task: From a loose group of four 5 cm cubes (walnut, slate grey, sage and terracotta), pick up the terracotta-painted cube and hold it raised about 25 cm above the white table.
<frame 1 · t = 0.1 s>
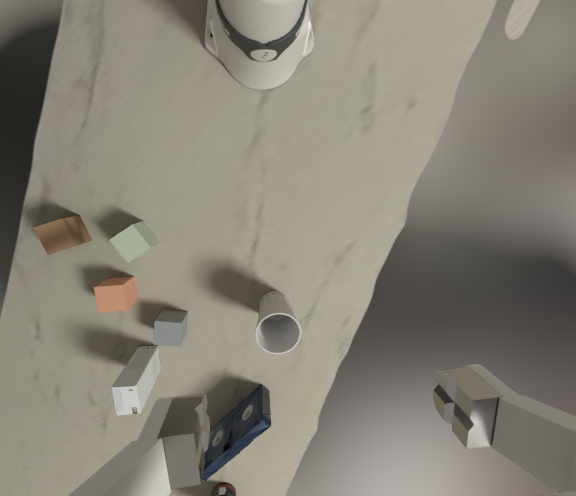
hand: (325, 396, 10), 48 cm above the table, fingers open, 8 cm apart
supplement bottle: (224, 490, 71), on the table
cup: (274, 304, 61), on the table
vhs cassette tape: (237, 410, 66), on the table
walnut cube: (73, 231, 53), on the table
terracotta cube: (123, 288, 56), on the table
sage cube: (141, 238, 55), on the table
slate cube: (174, 321, 59), on the table
skincare box: (151, 357, 61), on the table
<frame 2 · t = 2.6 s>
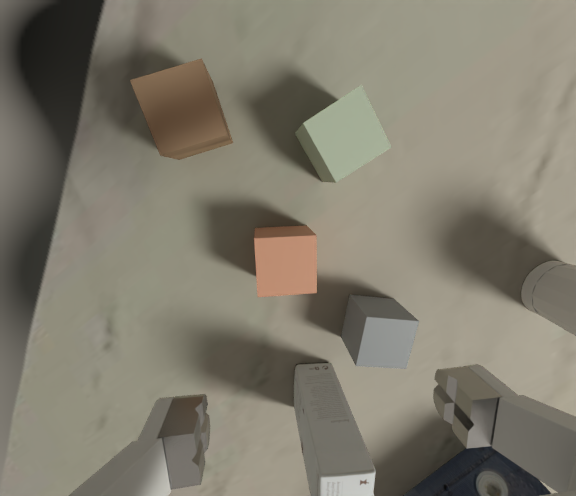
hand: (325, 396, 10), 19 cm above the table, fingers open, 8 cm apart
cup: (545, 286, 32), on the table
vhs cassette tape: (439, 473, 38), on the table
walnut cube: (195, 122, 24), on the table
terracotta cube: (281, 251, 28), on the table
sage cube: (331, 143, 26), on the table
slate cube: (366, 317, 31), on the table
skincare box: (313, 384, 32), on the table
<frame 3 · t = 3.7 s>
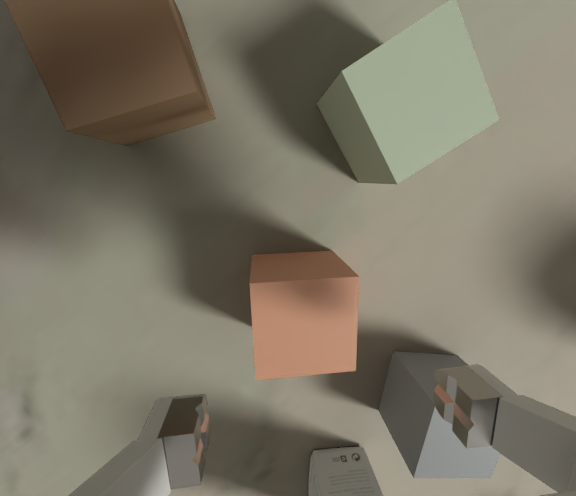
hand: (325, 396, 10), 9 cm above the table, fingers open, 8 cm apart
walnut cube: (153, 82, 15), on the table
terracotta cube: (293, 289, 18), on the table
sage cube: (374, 121, 16), on the table
slate cube: (416, 382, 21), on the table
skincare box: (336, 475, 22), on the table
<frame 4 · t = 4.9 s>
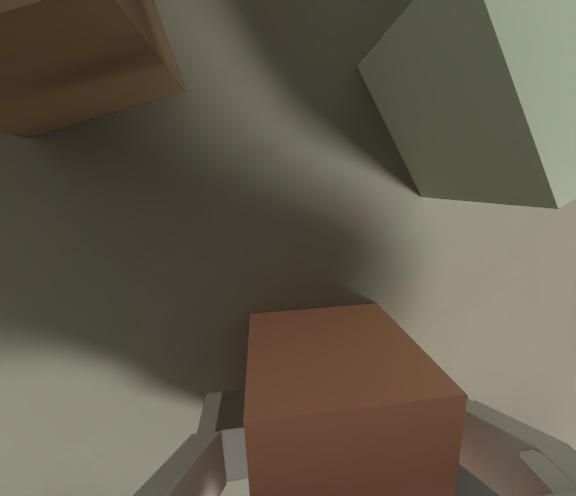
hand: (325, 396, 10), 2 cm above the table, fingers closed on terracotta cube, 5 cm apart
walnut cube: (71, 25, 8), on the table
terracotta cube: (315, 364, 12), on the table, touching gripper
sage cube: (451, 96, 10), on the table
slate cube: (492, 484, 14), on the table
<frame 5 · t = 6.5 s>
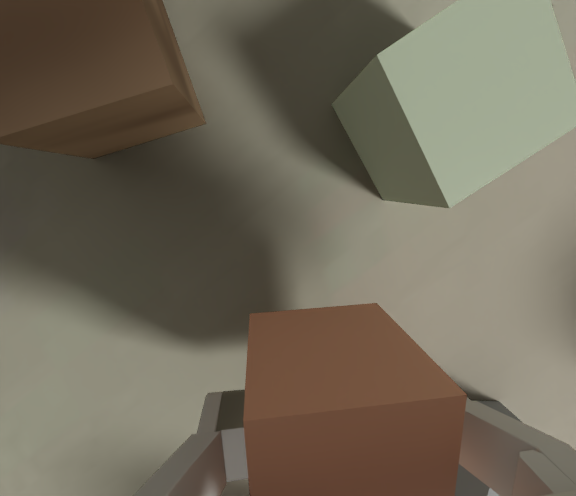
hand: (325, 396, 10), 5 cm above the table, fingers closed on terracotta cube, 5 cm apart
walnut cube: (125, 79, 12), on the table
terracotta cube: (315, 364, 12), point 3 cm above the table, touching gripper
sage cube: (403, 124, 13), on the table
slate cube: (450, 433, 17), on the table
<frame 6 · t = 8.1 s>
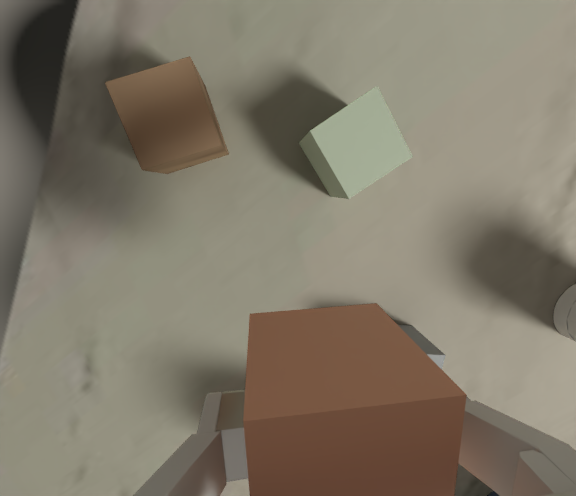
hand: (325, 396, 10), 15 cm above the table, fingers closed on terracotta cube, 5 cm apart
walnut cube: (186, 131, 21), on the table
terracotta cube: (315, 364, 12), point 13 cm above the table, touching gripper
sage cube: (340, 153, 23), on the table
slate cube: (382, 347, 27), on the table
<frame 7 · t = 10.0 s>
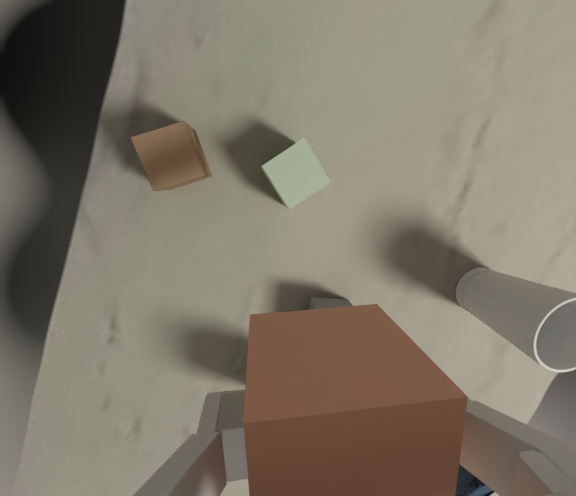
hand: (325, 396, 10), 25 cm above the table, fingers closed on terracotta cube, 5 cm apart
cup: (476, 288, 39), on the table
vhs cassette tape: (396, 450, 44), on the table
walnut cube: (182, 160, 31), on the table
terracotta cube: (315, 365, 12), point 23 cm above the table, touching gripper
sage cube: (291, 175, 33), on the table
slate cube: (326, 315, 37), on the table
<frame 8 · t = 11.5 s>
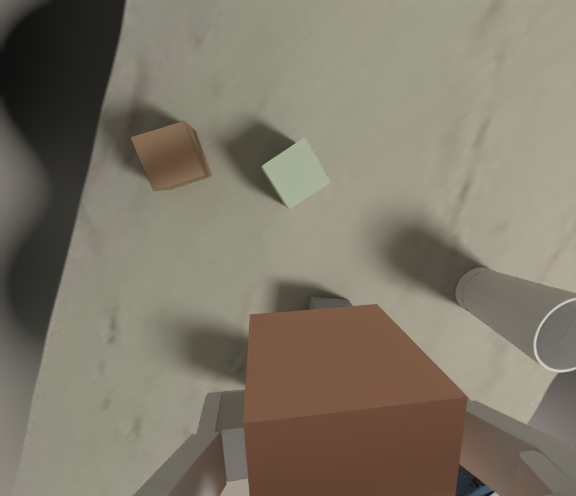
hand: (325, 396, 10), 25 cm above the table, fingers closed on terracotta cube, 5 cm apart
cup: (476, 288, 39), on the table
vhs cassette tape: (396, 450, 44), on the table
walnut cube: (182, 160, 31), on the table
terracotta cube: (315, 365, 12), point 23 cm above the table, touching gripper
sage cube: (291, 175, 33), on the table
slate cube: (326, 315, 37), on the table
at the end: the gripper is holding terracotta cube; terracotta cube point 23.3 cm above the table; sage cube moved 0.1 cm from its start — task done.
